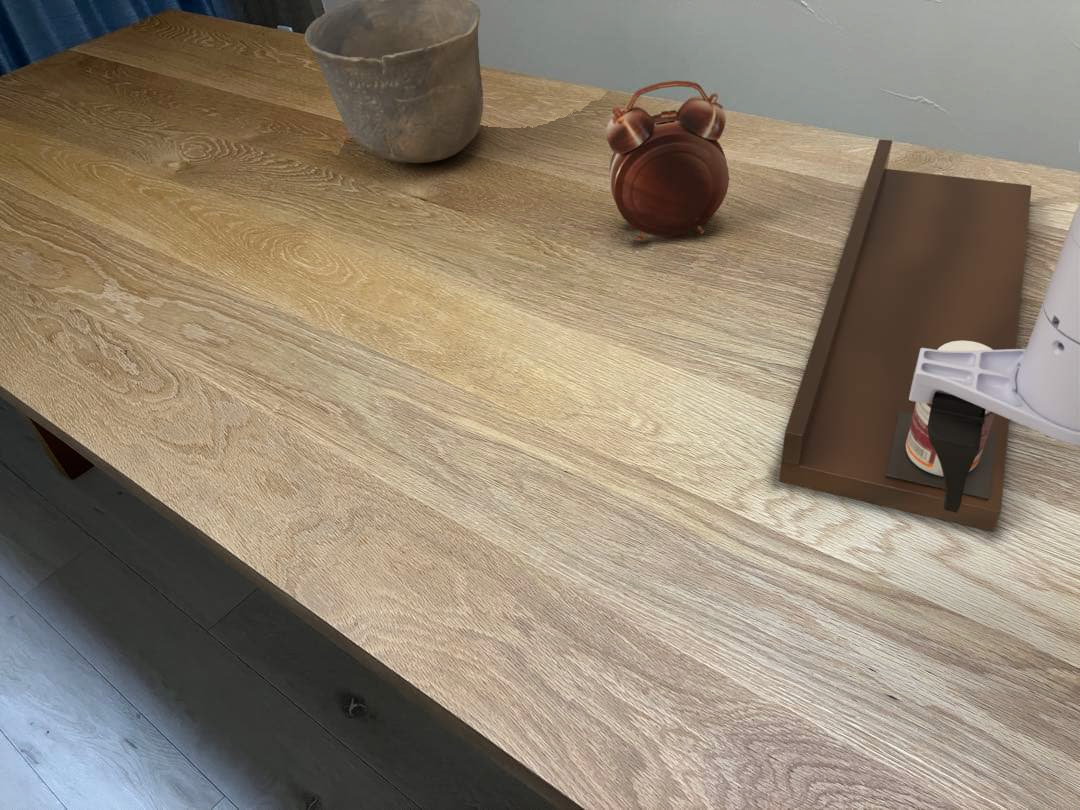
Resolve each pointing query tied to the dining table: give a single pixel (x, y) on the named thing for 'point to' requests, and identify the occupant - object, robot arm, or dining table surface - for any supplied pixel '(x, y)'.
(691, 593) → the dining table surface
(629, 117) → the alarm clock
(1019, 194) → the shelf
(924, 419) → the pill bottle
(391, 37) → the bowl
